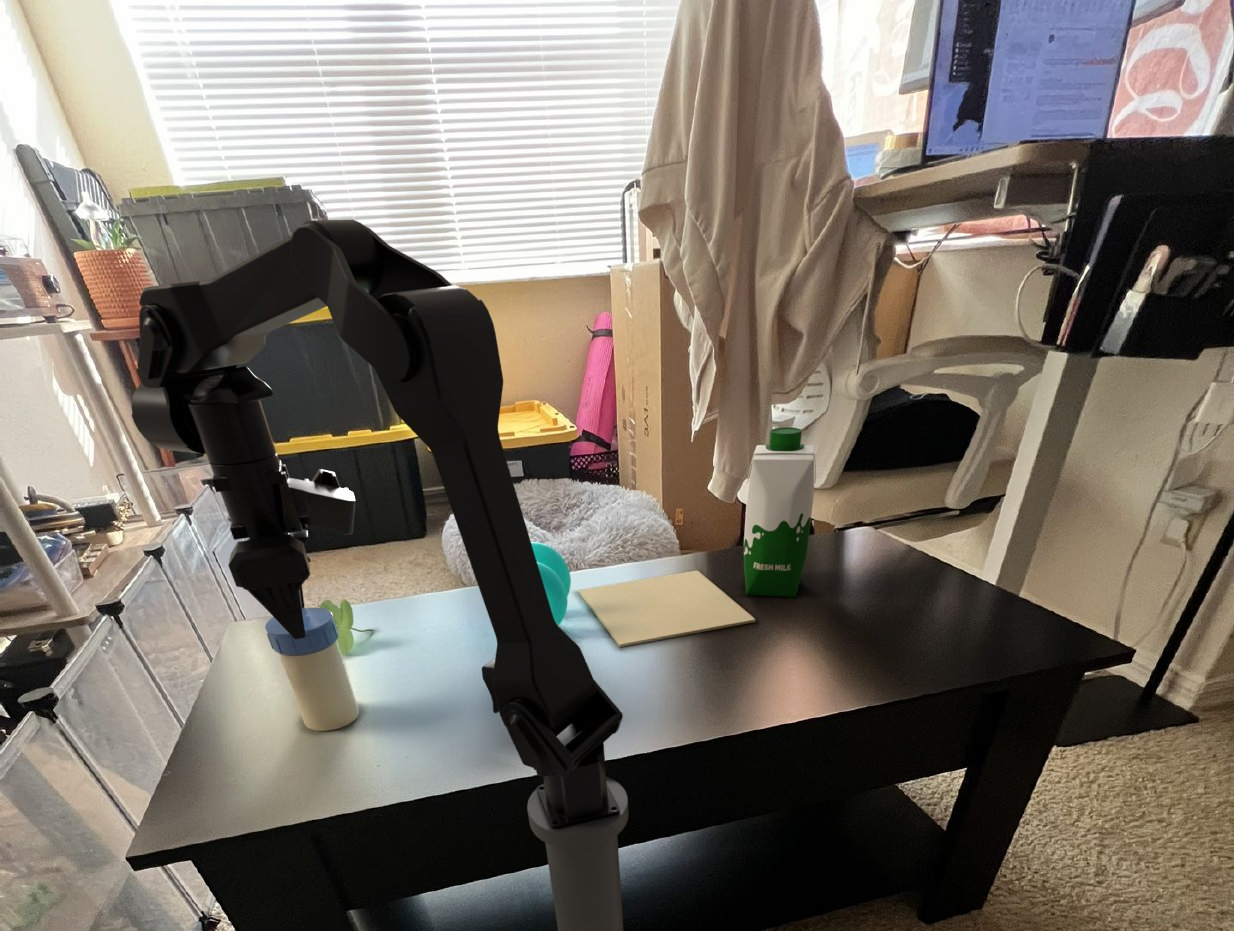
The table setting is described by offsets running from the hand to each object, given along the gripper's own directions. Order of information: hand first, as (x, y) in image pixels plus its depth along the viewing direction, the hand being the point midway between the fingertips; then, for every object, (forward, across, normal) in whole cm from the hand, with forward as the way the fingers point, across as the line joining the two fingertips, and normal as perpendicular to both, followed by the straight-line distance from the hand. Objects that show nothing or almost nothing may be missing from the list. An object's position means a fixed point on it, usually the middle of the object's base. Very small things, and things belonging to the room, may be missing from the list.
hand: (299, 623), depth 74 cm
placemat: (+11, +12, -46) cm, 48 cm away
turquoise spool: (+11, +14, -28) cm, 33 cm away
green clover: (+11, +19, -4) cm, 22 cm away
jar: (+11, 0, 0) cm, 11 cm away
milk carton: (+11, +12, -62) cm, 65 cm away
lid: (0, 0, 0) cm, 0 cm away
